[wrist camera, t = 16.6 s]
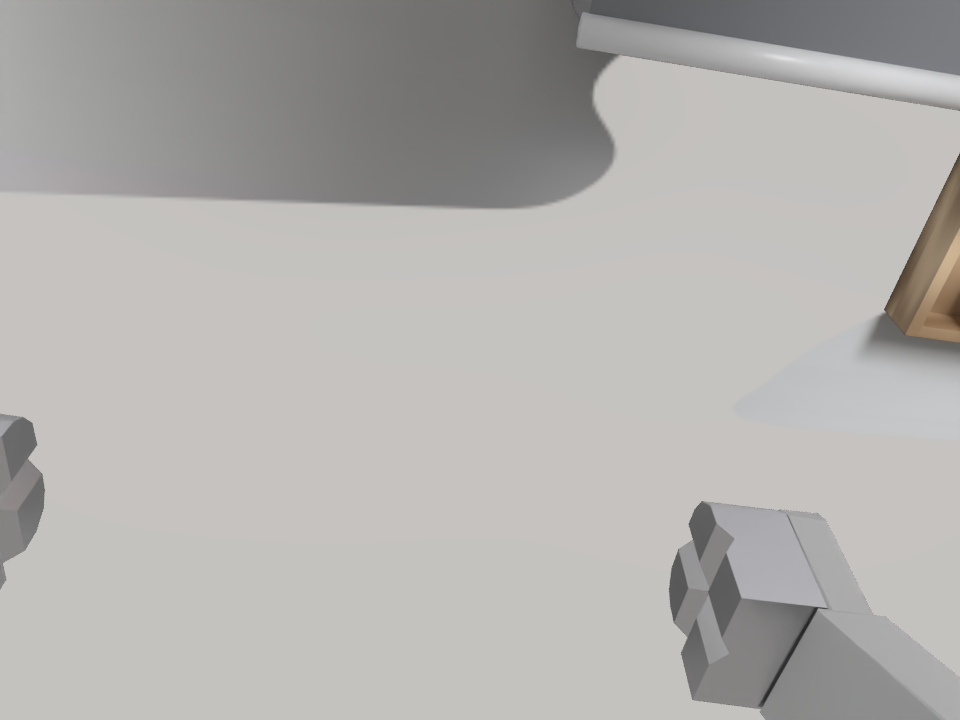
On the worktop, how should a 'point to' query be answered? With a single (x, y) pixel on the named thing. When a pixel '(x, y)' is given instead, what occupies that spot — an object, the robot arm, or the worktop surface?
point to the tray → (933, 273)
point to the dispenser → (793, 41)
